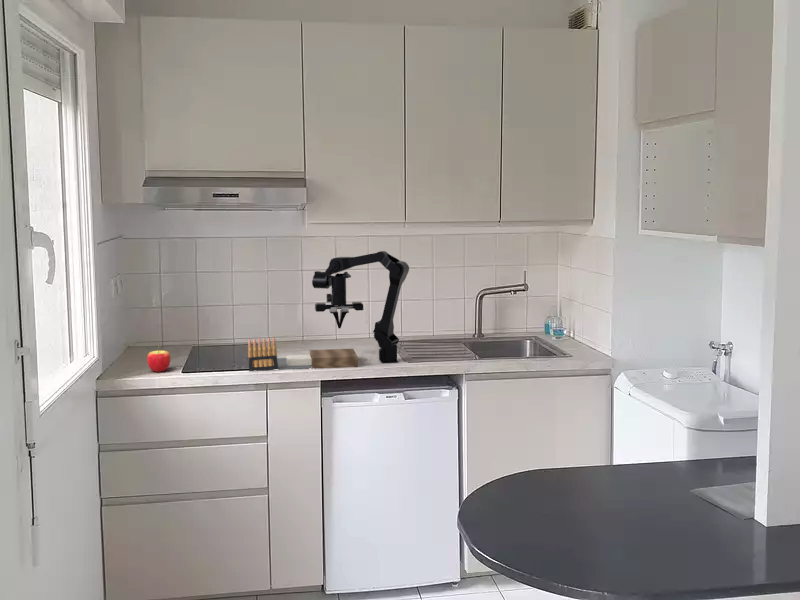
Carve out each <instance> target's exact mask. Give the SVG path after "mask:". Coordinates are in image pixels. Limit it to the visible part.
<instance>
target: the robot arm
mask: <svg viewBox="0 0 800 600" xmlns="http://www.w3.org/2000/svg"><path fill="white" fill-rule="evenodd" d="M378 262H379V263H380V264H381V265H382V266H383V267H384V268H385V269H386V270H387V271H388V272H389V274H388V278H389V287H388V291H387V295H386V299H385V303H384V306H383V307H384V308H383V312H382V315H381V319H380V320H378V321H375V323H374V329H373V331H372V333H373V338H374V339H375V341H376V342H377V344H378V347H379V348H378V361H380V363H382V364H386V363H387V364H388V363H391V364H392V363H399V360H398V344H399V341H400V338H399V337H398V336H397V335H396V334H395V333H394V329H395V326H394V324H395V323H394V318H395V313H396V308H397V306H398V305H397V304H398V301H399V296H400V292H401V287H402V286H403V284H404V282H405V280H406V279H407V276H408V274H409V271H410V267H409V264H408V263H407V262H406V261H402V260H399V259H398V258H397V257H395V256H393V255H391V254H390V253H388V252H387V251H386V250H380V251H377V252H375V253H374V252H373V253H369V254H364V255H358V256H338V257H333V258H331V259H330V261H329V263H328V267H327V268H326V270H325V271H319V270H316V271H314V272H313V273H314V274H313V277H312V280H311V284H312V287H313V289H327V290H328V289H330V288H331V293H326V302H316V303H314V310H315V312H317V313H319V312H321V313H322V312H325V311H326V310H329V314H332V315H333V317H334V319H335V322H336V326H337V328H338V329H341V328H342V326H343V322H344V320H345V317H346V316H347V314H349V313H350V311H349V310H350V309H353V310H355V311H356V312H357V311H364V303H362V302H361V301H352V302H351V303H347V279H350V278H352V275H351V274H350V273H348V271H347V270H349V269H352V268H354V267H357V266H364V265H370V264H373V263H378ZM340 272H343V273H340ZM326 303H330V304H326ZM338 310H340V311H338Z"/></svg>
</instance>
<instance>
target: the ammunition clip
mask: <svg viewBox="0 0 800 600" xmlns="http://www.w3.org/2000/svg"><path fill="white" fill-rule="evenodd" d="M247 340H248V341H247V342H248V343H247V354H248V355H247V356H248V359H247V360H248V372H254V370H257V371H267V370H268V371H269V370H273V369H278V362H277V358H278V353H277V352H278V351H277V350H278V349H277V344H276V339H275V336H272V340H271V339H270V337H269V336H268V337H267V343H266V338H265V337H263V338H262V342H261V338H260V337H258V339H257V341H256V339H255V337H254V338H253V340H252V342H251V339H250V338H248V339H247ZM271 341H272V342H271Z"/></svg>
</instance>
